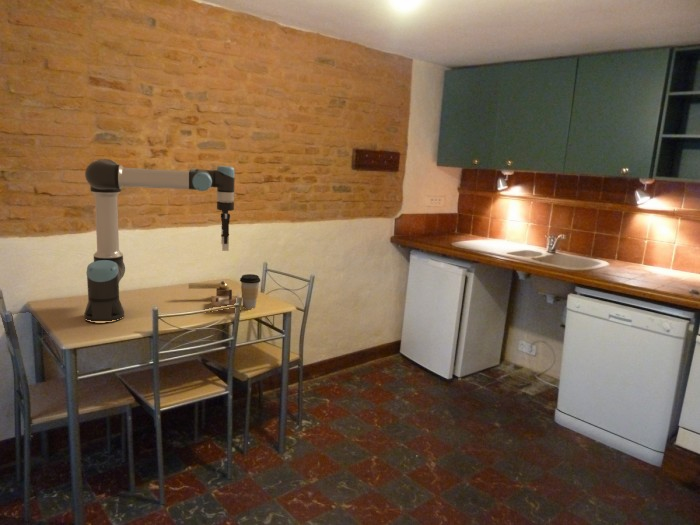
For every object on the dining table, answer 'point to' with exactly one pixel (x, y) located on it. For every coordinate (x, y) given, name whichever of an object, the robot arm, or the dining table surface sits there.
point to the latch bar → (208, 285)
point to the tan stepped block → (223, 302)
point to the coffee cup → (249, 290)
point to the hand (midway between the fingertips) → (224, 247)
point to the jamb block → (222, 292)
